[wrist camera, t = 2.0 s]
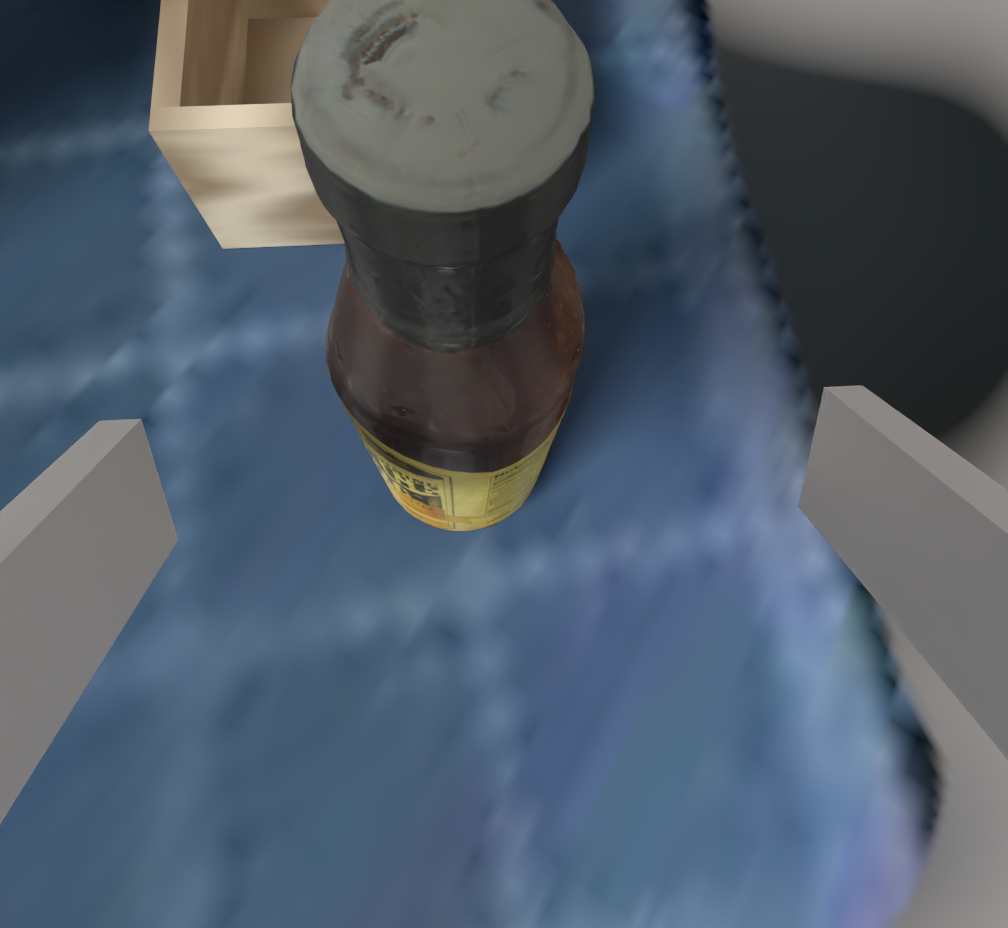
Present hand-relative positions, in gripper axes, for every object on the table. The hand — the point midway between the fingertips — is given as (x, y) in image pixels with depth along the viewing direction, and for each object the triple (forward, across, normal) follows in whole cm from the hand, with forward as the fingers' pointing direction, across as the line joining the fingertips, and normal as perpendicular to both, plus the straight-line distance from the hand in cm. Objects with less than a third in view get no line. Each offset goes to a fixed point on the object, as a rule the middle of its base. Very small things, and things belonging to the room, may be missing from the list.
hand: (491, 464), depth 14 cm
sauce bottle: (+13, -1, -7) cm, 15 cm away
